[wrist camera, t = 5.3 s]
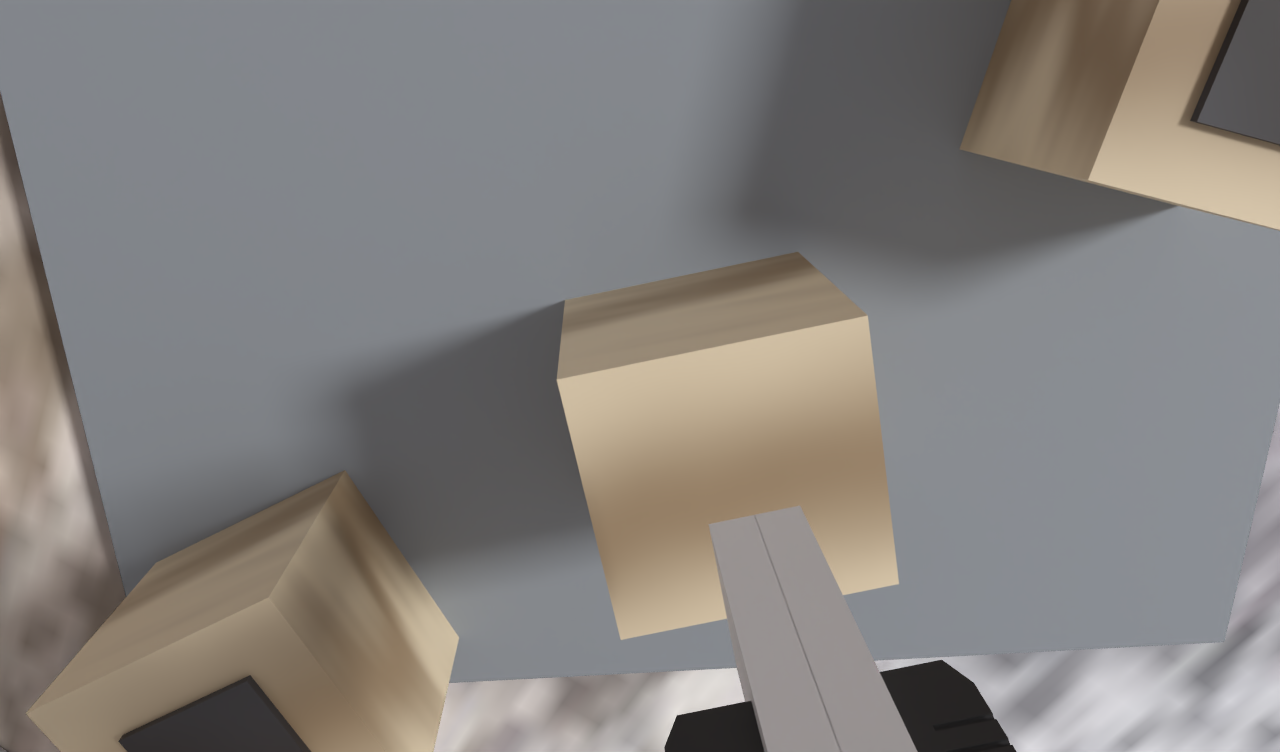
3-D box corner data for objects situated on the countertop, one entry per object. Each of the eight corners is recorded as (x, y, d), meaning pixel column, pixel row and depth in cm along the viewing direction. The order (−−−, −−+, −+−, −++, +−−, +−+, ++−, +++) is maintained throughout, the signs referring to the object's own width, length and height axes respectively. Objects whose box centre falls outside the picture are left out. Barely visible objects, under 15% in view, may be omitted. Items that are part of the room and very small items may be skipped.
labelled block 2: (1052, -119, 20) (1243, -194, 14) (1287, -48, 21) (1561, -90, 15) (959, 149, 22) (1094, 181, 16) (1178, 205, 23) (1383, 256, 17)
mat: (-22, -63, 20) (-40, -67, 19) (1373, -88, 21) (1394, -91, 21) (160, 684, 26) (151, 698, 26) (1211, 630, 28) (1224, 641, 27)
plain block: (564, 300, 23) (556, 379, 17) (798, 251, 22) (868, 315, 17) (613, 507, 25) (620, 639, 19) (827, 463, 25) (899, 584, 19)
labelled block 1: (155, 562, 24) (19, 720, 19) (345, 470, 24) (265, 602, 18) (281, 719, 26) (193, 906, 21) (459, 637, 26) (420, 806, 20)
